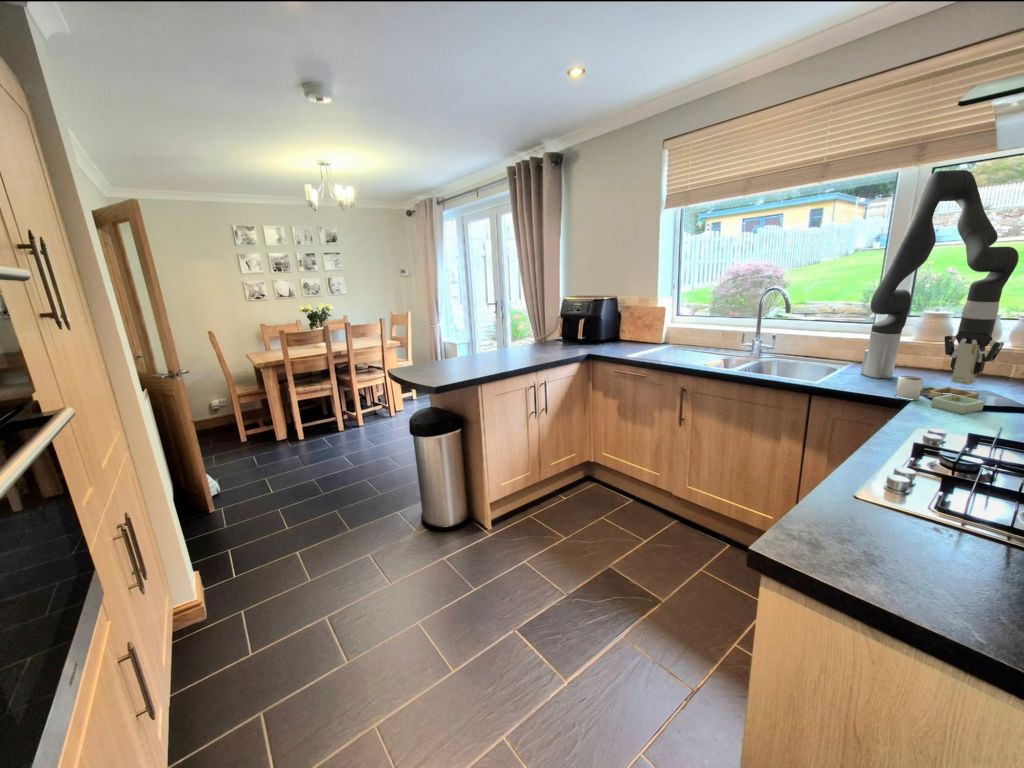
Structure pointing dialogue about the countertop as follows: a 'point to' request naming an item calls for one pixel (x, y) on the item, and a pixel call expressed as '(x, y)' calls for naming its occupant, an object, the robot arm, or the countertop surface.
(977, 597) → the countertop surface
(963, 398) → the trough
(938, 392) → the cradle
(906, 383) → the cup
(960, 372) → the skincare box
